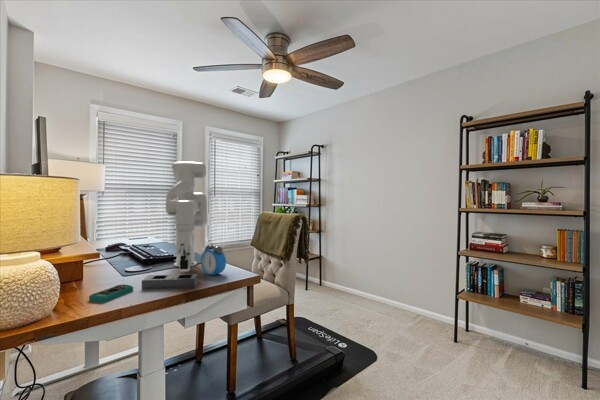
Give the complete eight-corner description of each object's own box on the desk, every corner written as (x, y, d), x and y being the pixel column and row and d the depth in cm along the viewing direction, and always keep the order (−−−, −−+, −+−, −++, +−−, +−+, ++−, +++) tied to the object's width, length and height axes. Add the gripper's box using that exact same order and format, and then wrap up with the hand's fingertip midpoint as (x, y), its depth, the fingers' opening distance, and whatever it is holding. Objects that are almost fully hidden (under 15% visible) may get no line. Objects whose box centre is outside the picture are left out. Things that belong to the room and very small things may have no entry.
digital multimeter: (134, 291, 123) (134, 284, 123) (103, 304, 109) (103, 296, 109) (120, 290, 125) (120, 283, 125) (87, 302, 111) (87, 294, 111)
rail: (148, 283, 132) (148, 275, 132) (198, 282, 136) (198, 273, 136) (141, 289, 125) (141, 280, 124) (194, 287, 128) (194, 278, 128)
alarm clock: (200, 273, 150) (200, 245, 150) (210, 271, 156) (210, 243, 155) (217, 277, 143) (217, 247, 143) (226, 275, 148) (226, 246, 148)
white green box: (181, 269, 132) (181, 254, 132) (190, 269, 133) (190, 254, 133) (179, 271, 128) (179, 255, 128) (188, 271, 129) (188, 255, 129)
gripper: (181, 225, 138) (181, 263, 138) (171, 229, 122) (171, 272, 122) (197, 225, 139) (197, 263, 139) (189, 229, 123) (189, 272, 123)
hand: (185, 267), depth 131 cm, fingers closed on white green box, 4 cm apart
